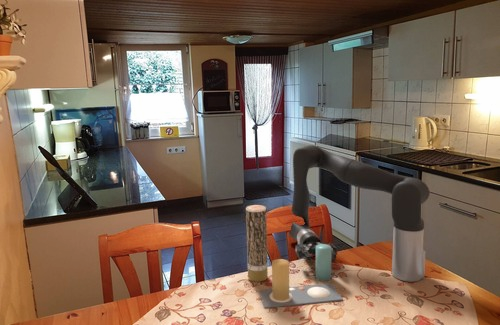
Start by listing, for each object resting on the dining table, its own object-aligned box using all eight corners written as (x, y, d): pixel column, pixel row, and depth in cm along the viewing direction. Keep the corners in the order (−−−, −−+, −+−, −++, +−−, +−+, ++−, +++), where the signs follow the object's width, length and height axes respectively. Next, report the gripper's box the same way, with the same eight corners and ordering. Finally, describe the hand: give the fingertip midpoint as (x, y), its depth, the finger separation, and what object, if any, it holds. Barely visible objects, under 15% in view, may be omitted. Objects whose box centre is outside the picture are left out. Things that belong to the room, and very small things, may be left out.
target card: (331, 284, 119) (331, 283, 119) (343, 300, 109) (343, 298, 109) (259, 291, 116) (259, 289, 116) (264, 308, 106) (264, 306, 106)
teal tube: (327, 273, 126) (328, 243, 125) (333, 280, 121) (333, 249, 120) (313, 274, 126) (313, 244, 124) (318, 281, 121) (318, 250, 119)
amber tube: (287, 291, 114) (286, 258, 113) (291, 299, 109) (290, 265, 107) (271, 292, 114) (270, 259, 112) (274, 301, 109) (273, 267, 107)
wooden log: (268, 273, 128) (266, 204, 124) (267, 282, 121) (265, 210, 117) (249, 273, 128) (246, 204, 124) (246, 282, 122) (244, 210, 118)
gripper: (290, 233, 138) (302, 249, 122) (326, 230, 140) (342, 246, 124) (290, 251, 139) (302, 270, 123) (326, 248, 141) (342, 266, 125)
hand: (322, 258), depth 123 cm, fingers open, 8 cm apart
